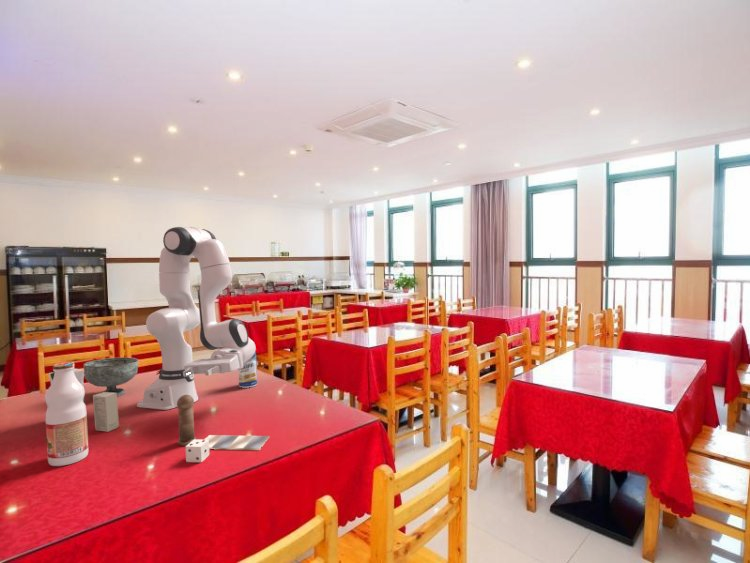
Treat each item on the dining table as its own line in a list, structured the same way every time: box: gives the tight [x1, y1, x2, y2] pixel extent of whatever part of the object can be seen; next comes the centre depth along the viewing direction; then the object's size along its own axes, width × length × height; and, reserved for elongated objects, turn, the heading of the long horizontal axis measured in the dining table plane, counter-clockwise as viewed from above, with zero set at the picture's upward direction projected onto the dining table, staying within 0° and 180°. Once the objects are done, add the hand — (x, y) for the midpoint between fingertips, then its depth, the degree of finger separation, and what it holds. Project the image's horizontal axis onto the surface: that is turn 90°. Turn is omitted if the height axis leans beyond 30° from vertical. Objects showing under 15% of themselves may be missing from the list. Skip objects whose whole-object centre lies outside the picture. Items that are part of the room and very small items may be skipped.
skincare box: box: [92, 391, 120, 432], centre depth 137 cm, size 6×4×12 cm
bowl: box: [83, 356, 140, 397], centre depth 174 cm, size 20×19×15 cm
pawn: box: [177, 395, 197, 447], centre depth 125 cm, size 5×5×15 cm
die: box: [185, 438, 210, 463], centre depth 115 cm, size 5×5×5 cm
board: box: [203, 434, 270, 451], centre depth 124 cm, size 20×9×1 cm, turn 85°
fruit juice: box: [44, 361, 90, 467], centre depth 116 cm, size 9×9×28 cm
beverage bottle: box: [237, 352, 258, 389], centre depth 183 cm, size 8×8×20 cm
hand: (195, 373), depth 135 cm, fingers open, 8 cm apart
